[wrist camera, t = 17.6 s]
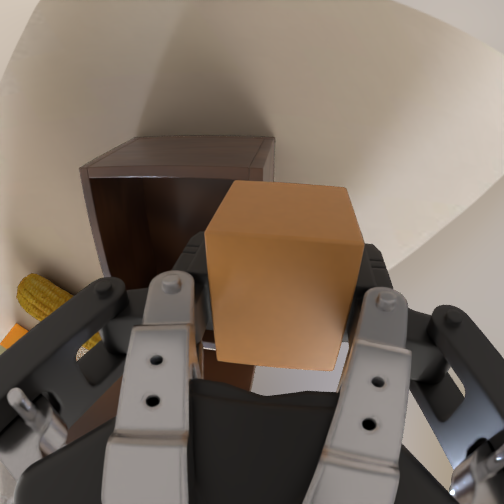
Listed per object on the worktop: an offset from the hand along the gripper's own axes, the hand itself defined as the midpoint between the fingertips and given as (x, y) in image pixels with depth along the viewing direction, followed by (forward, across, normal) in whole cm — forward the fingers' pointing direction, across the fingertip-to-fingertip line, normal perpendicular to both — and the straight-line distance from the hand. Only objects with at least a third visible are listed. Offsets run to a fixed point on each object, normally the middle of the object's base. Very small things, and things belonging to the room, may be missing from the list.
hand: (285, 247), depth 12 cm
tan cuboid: (0, 0, 0) cm, 0 cm away
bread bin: (+16, +8, +7) cm, 19 cm away
